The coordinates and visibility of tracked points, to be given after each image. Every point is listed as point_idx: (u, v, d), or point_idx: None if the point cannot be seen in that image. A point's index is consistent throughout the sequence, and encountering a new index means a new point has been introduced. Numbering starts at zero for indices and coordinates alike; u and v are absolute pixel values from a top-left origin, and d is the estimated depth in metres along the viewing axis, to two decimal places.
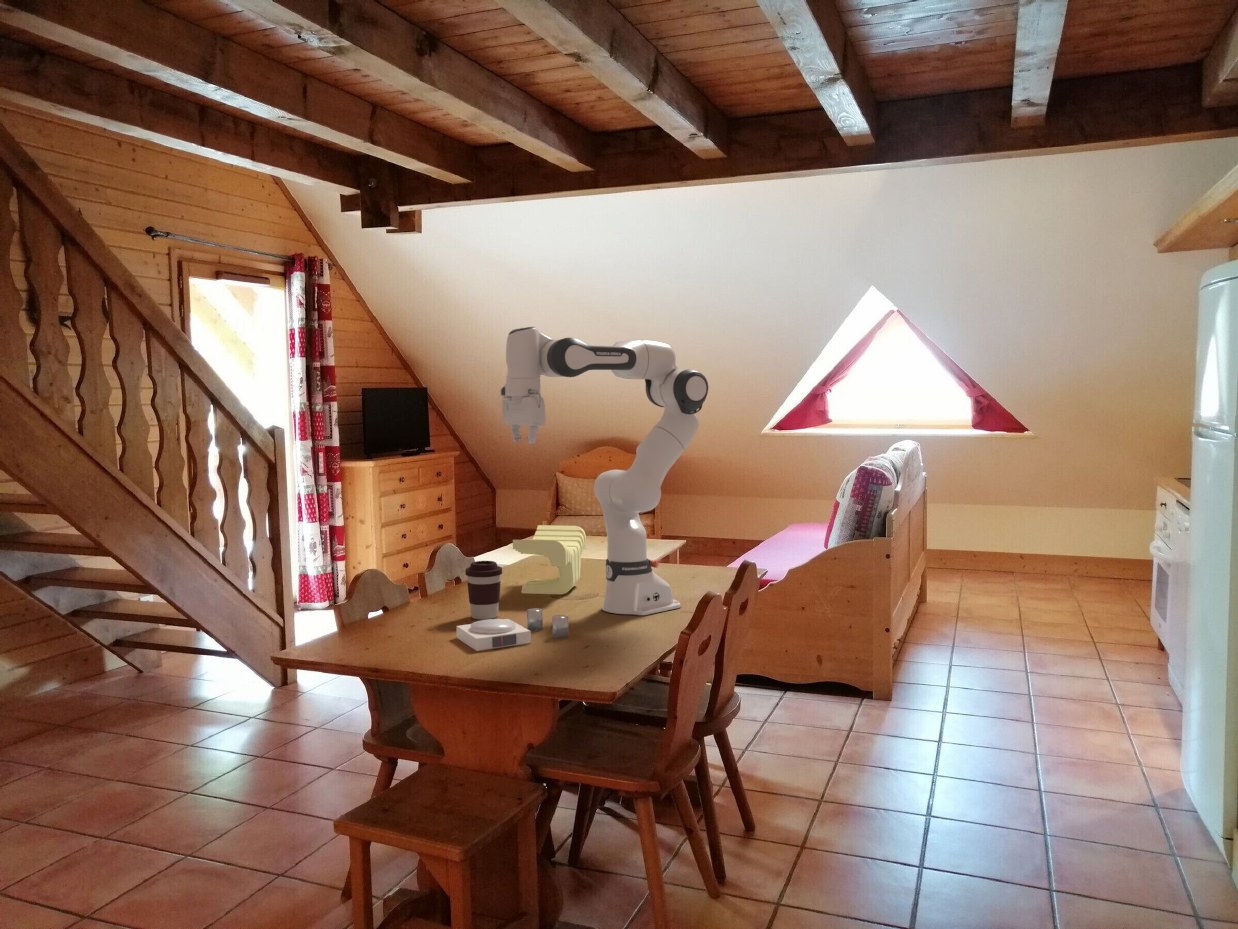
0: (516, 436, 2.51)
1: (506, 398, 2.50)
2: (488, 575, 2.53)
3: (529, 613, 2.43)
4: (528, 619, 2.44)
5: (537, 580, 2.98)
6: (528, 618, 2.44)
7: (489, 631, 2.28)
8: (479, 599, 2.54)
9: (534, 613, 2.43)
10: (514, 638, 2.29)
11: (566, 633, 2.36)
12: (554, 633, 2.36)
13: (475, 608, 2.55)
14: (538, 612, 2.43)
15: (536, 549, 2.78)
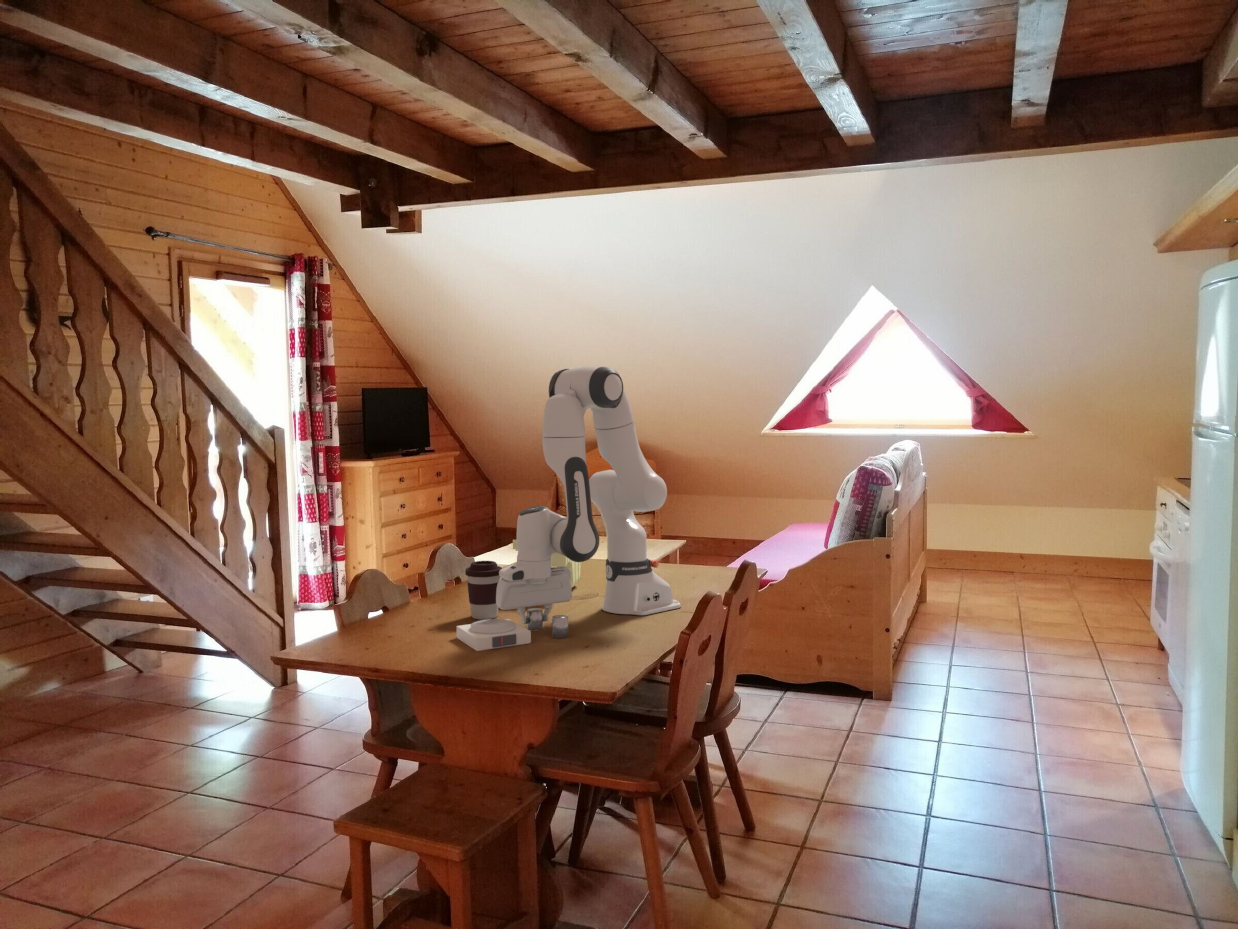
0: None
1: (521, 582, 2.39)
2: (488, 575, 2.53)
3: (529, 613, 2.43)
4: None
5: None
6: None
7: (489, 631, 2.28)
8: (479, 599, 2.54)
9: (534, 613, 2.43)
10: (514, 638, 2.29)
11: (566, 633, 2.36)
12: (554, 633, 2.36)
13: (475, 608, 2.55)
14: (538, 612, 2.43)
15: None
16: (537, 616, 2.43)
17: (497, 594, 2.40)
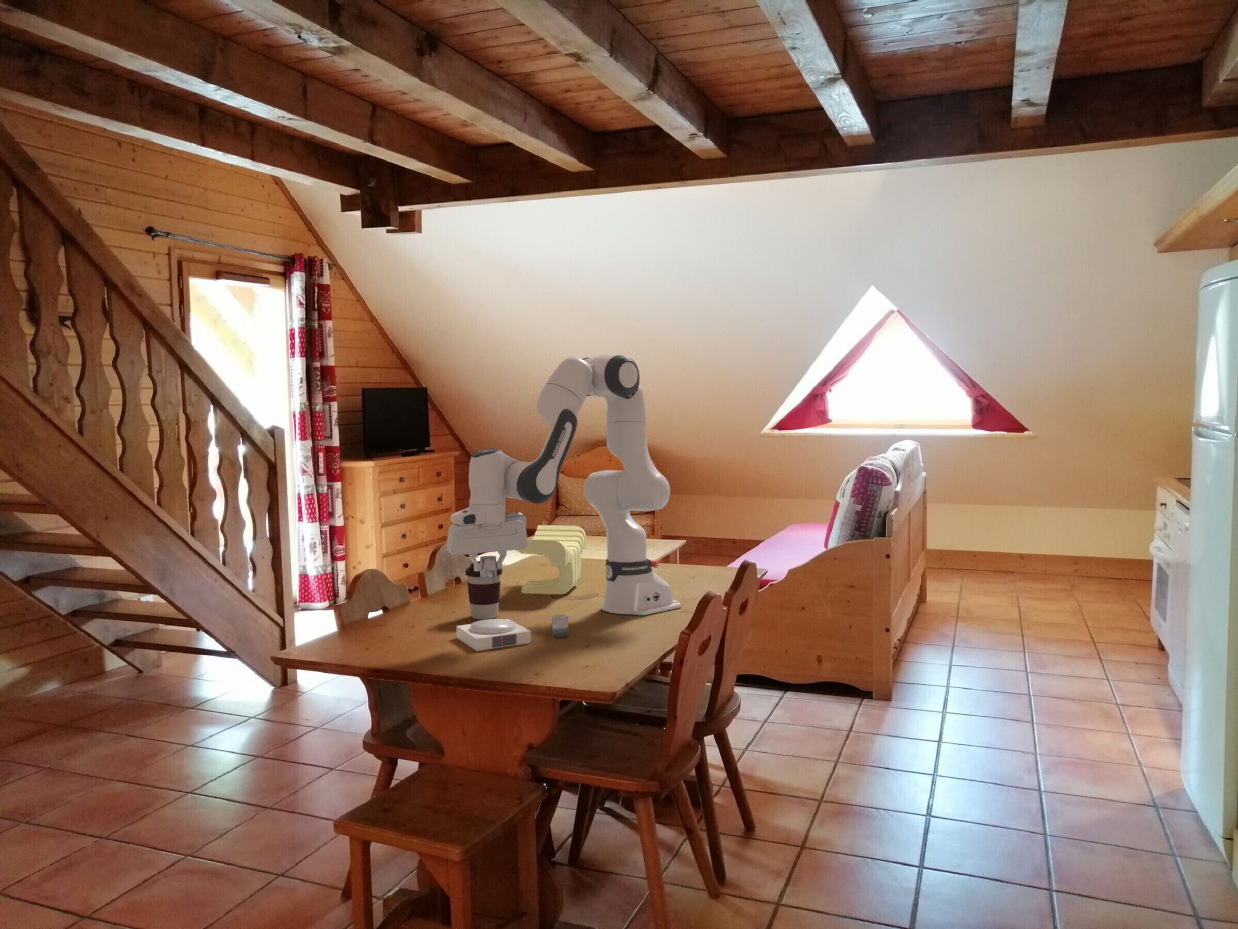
0: None
1: (472, 526, 2.29)
2: None
3: (482, 560, 2.33)
4: None
5: (537, 580, 2.98)
6: None
7: (489, 631, 2.28)
8: (479, 599, 2.54)
9: (487, 559, 2.33)
10: (514, 638, 2.29)
11: (566, 633, 2.36)
12: (554, 633, 2.36)
13: (475, 608, 2.55)
14: (491, 558, 2.33)
15: (536, 549, 2.78)
16: (490, 563, 2.33)
17: (448, 539, 2.30)
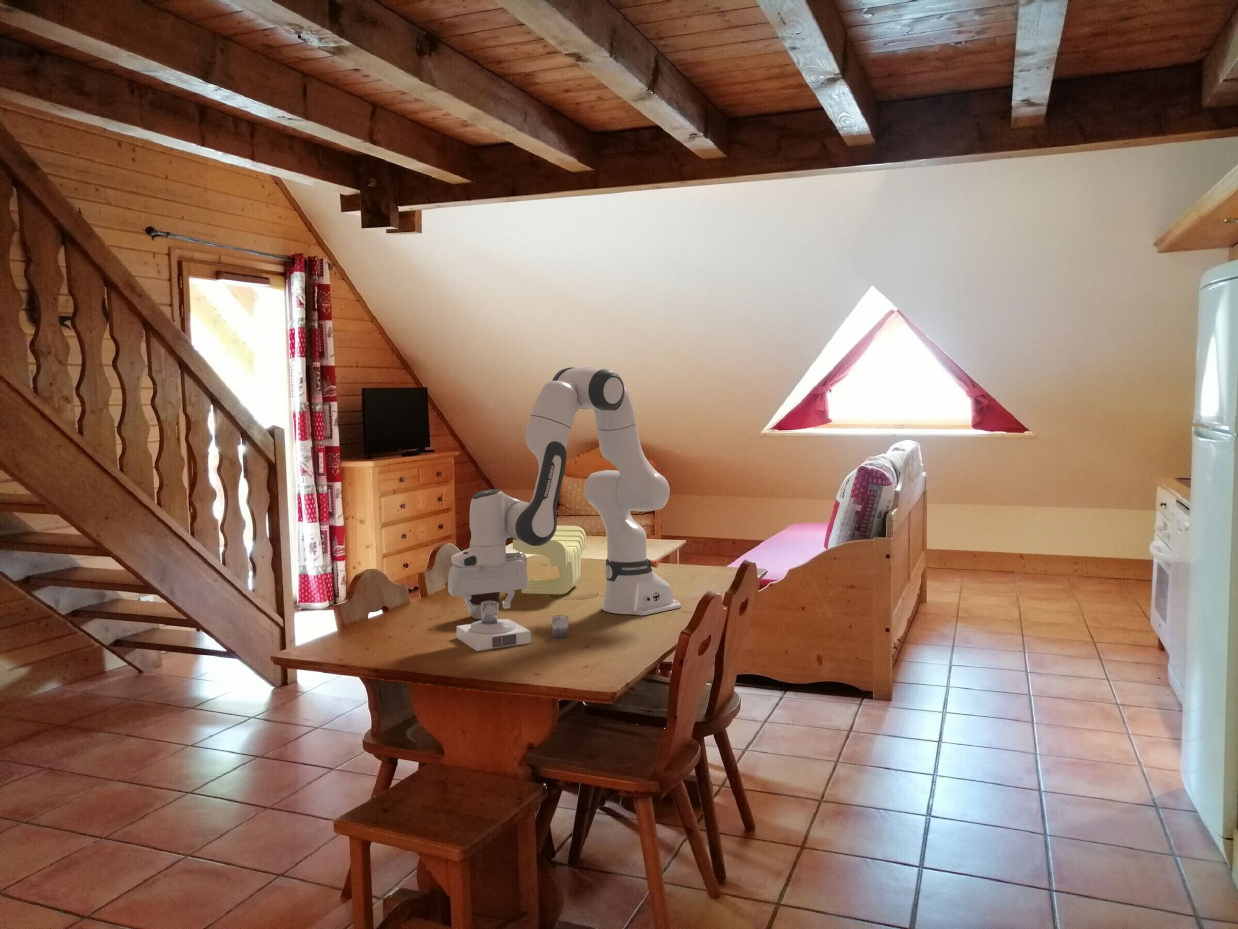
0: None
1: (473, 568, 2.30)
2: None
3: (483, 606, 2.34)
4: (482, 612, 2.34)
5: (537, 580, 2.98)
6: (482, 611, 2.34)
7: (489, 631, 2.28)
8: (479, 599, 2.54)
9: (488, 606, 2.34)
10: (514, 638, 2.29)
11: (566, 633, 2.36)
12: (554, 633, 2.36)
13: None
14: (492, 605, 2.34)
15: (536, 549, 2.78)
16: (491, 609, 2.34)
17: (449, 581, 2.31)
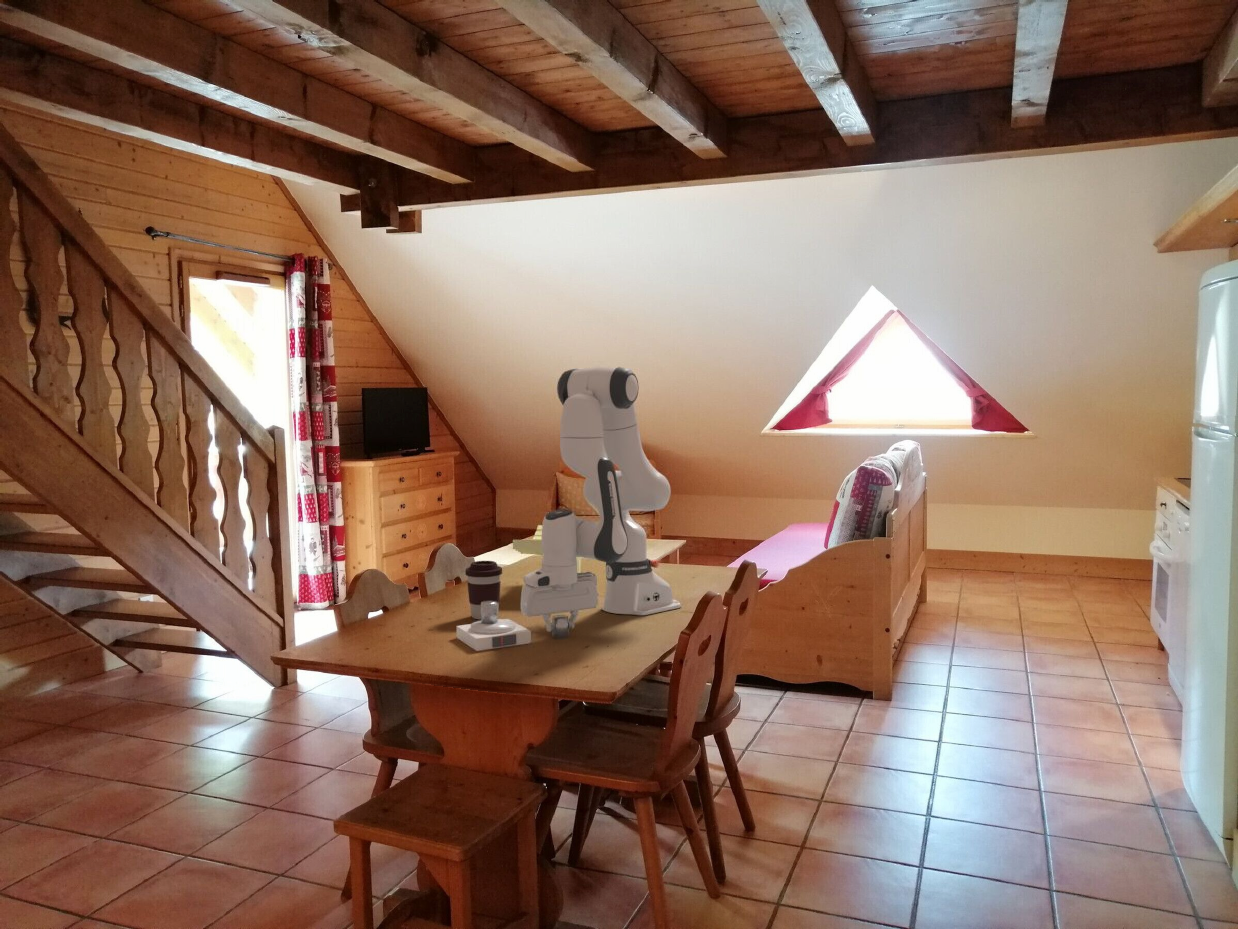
0: None
1: (546, 588, 2.32)
2: (488, 575, 2.53)
3: (483, 606, 2.34)
4: (482, 612, 2.35)
5: None
6: (482, 611, 2.35)
7: (489, 631, 2.28)
8: (479, 599, 2.54)
9: (488, 606, 2.34)
10: (514, 638, 2.29)
11: (566, 633, 2.36)
12: (554, 633, 2.36)
13: (475, 608, 2.55)
14: (492, 604, 2.34)
15: (536, 549, 2.78)
16: (491, 609, 2.34)
17: (521, 601, 2.33)
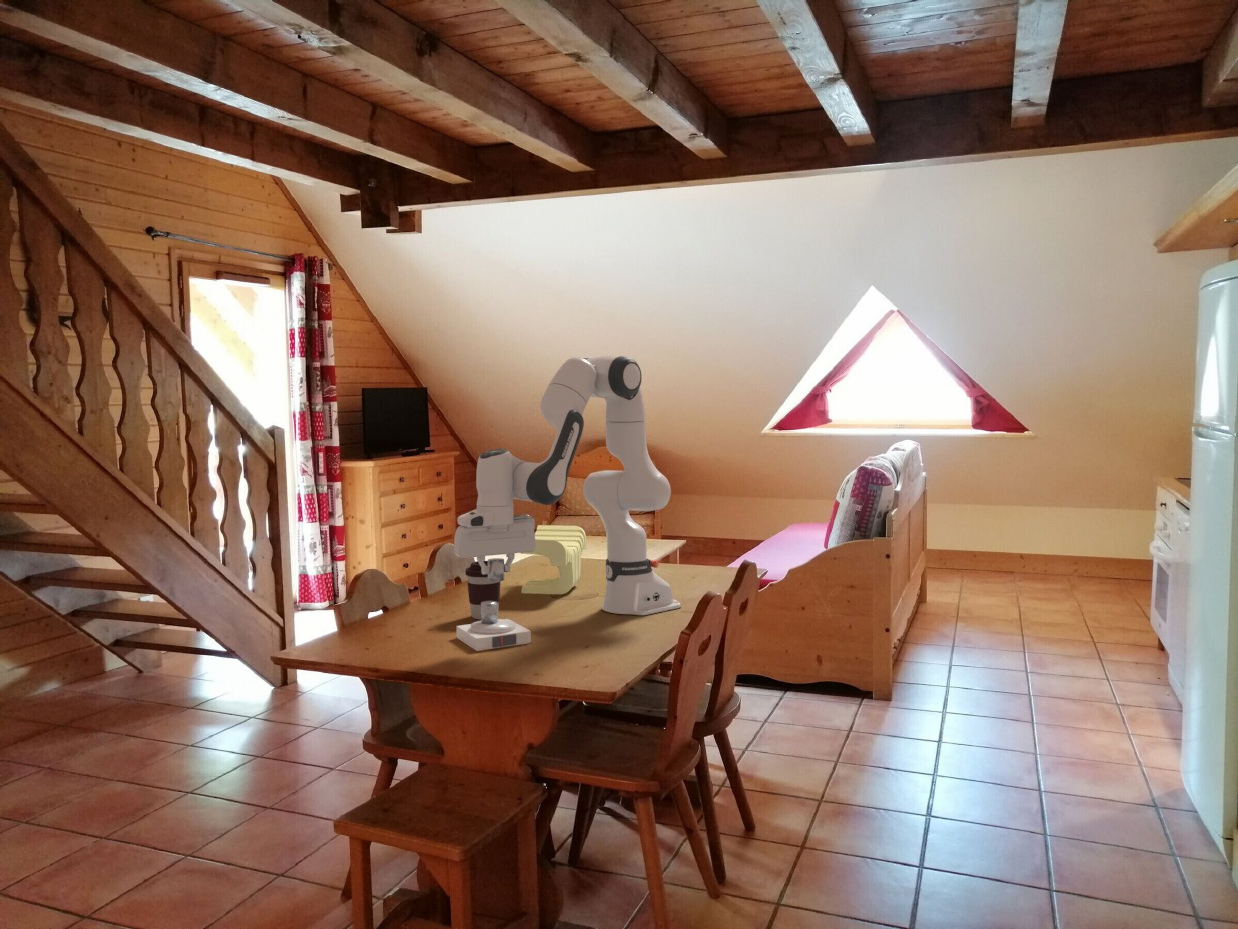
0: None
1: (480, 528, 2.25)
2: None
3: (483, 606, 2.34)
4: (482, 612, 2.35)
5: (537, 580, 2.98)
6: (482, 611, 2.35)
7: (489, 631, 2.28)
8: (479, 599, 2.54)
9: (488, 606, 2.34)
10: (514, 638, 2.29)
11: (502, 576, 2.29)
12: (489, 576, 2.29)
13: (475, 608, 2.55)
14: (492, 605, 2.34)
15: (536, 549, 2.78)
16: (491, 609, 2.34)
17: (455, 542, 2.26)
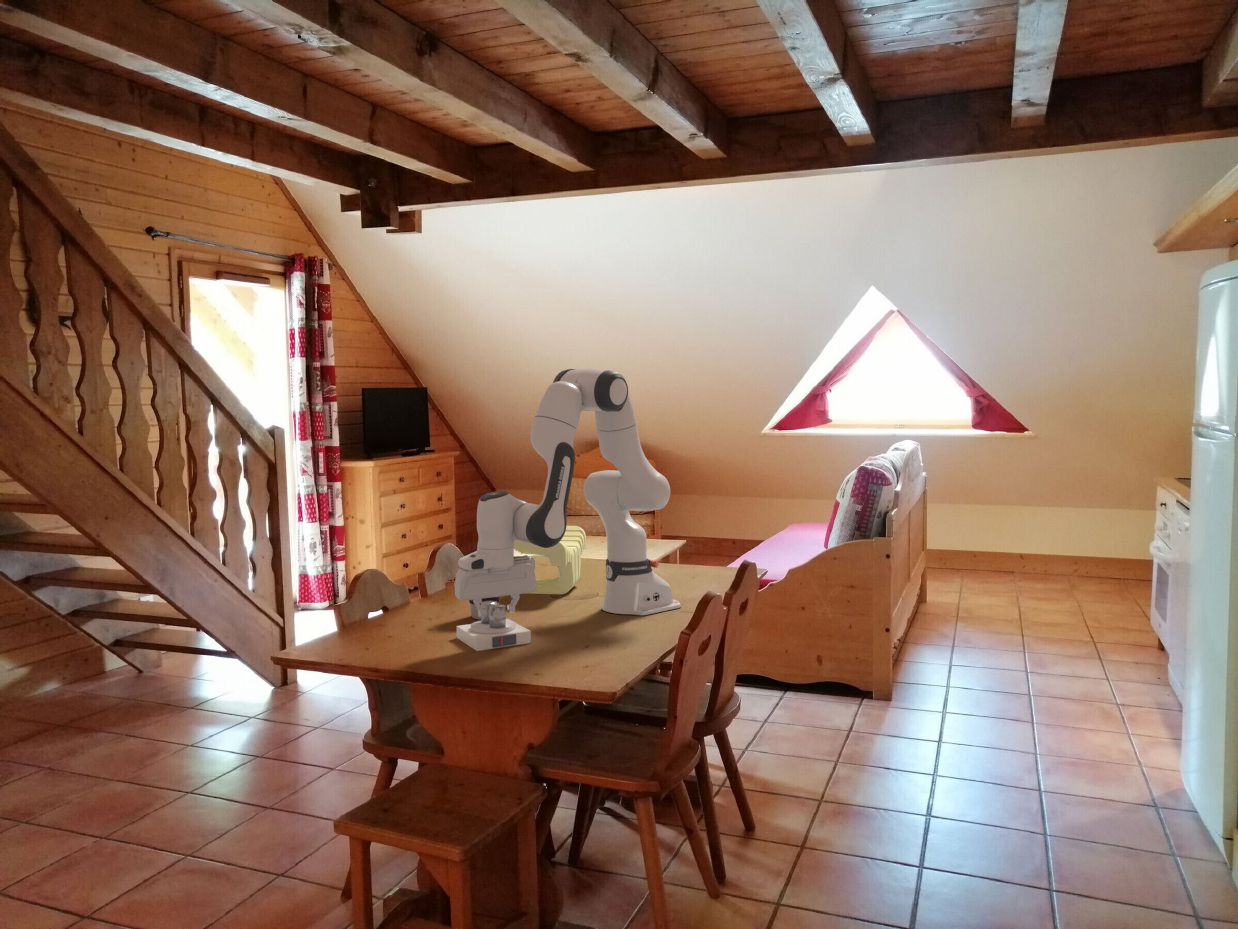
0: None
1: (481, 571, 2.26)
2: None
3: (483, 606, 2.34)
4: None
5: (537, 580, 2.98)
6: None
7: (489, 631, 2.28)
8: None
9: (488, 606, 2.34)
10: (514, 638, 2.29)
11: (503, 623, 2.30)
12: (491, 623, 2.30)
13: (475, 608, 2.55)
14: None
15: (536, 549, 2.78)
16: None
17: (456, 584, 2.27)
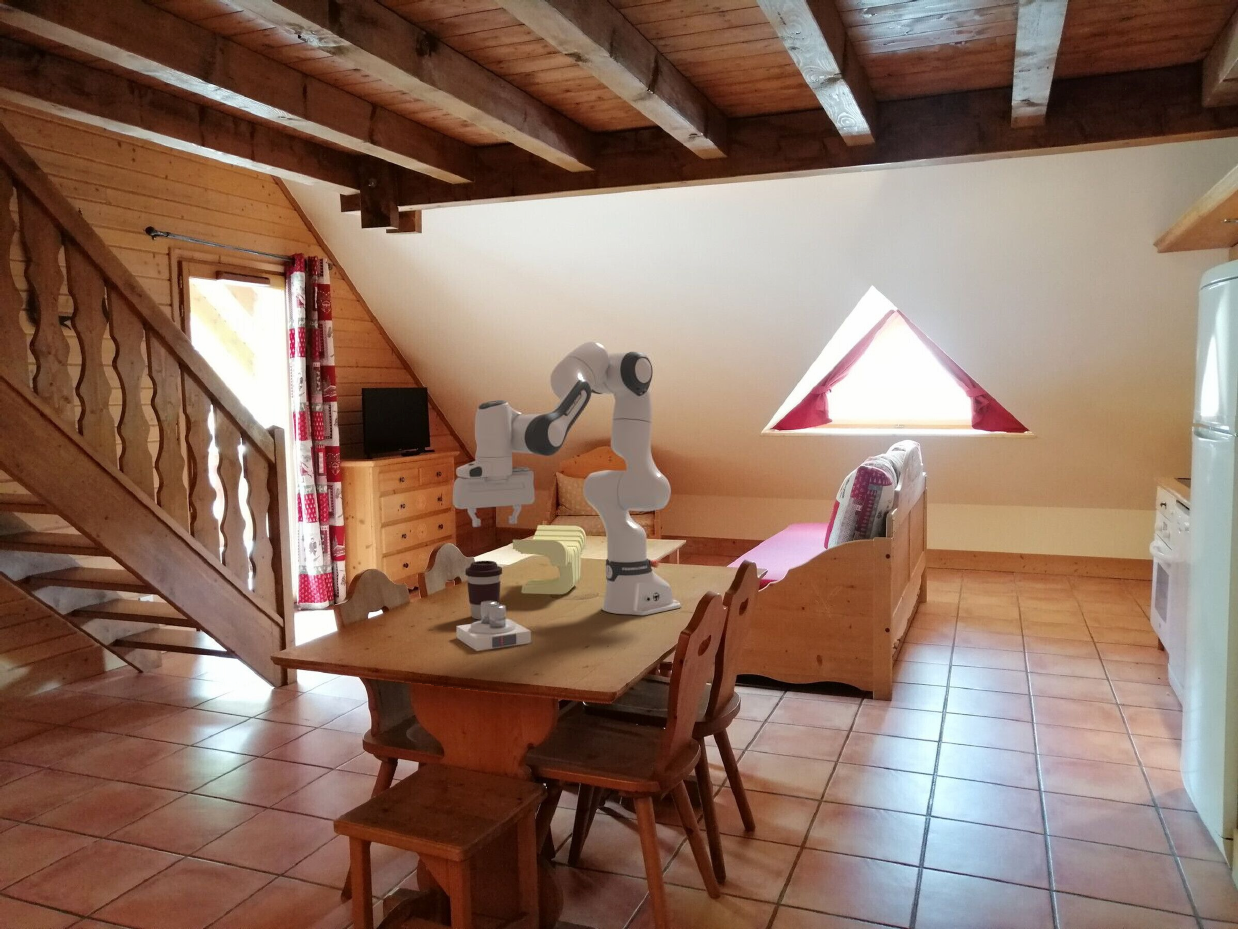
0: None
1: (479, 479, 2.24)
2: (488, 575, 2.53)
3: (482, 606, 2.34)
4: (482, 612, 2.35)
5: (537, 580, 2.98)
6: (482, 611, 2.35)
7: (489, 631, 2.28)
8: (479, 599, 2.54)
9: (487, 606, 2.34)
10: (514, 638, 2.29)
11: (503, 623, 2.30)
12: (491, 623, 2.30)
13: (475, 608, 2.55)
14: None
15: (536, 549, 2.78)
16: None
17: (453, 493, 2.25)
